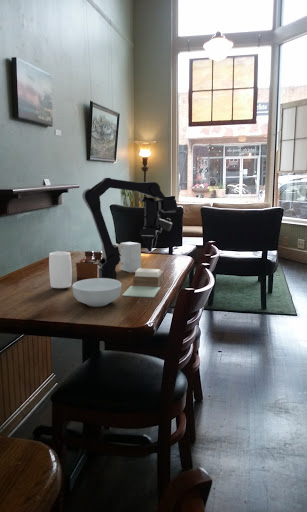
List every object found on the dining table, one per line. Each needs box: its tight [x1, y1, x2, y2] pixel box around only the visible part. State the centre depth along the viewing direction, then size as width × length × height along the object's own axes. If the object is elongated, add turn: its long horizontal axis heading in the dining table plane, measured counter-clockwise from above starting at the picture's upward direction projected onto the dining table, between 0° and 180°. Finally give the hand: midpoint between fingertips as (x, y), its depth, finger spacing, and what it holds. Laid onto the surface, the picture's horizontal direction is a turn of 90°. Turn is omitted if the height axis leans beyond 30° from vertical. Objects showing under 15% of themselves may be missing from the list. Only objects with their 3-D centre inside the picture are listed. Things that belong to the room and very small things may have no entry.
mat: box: [121, 285, 162, 298], centre depth 162 cm, size 14×12×1 cm
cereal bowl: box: [71, 277, 122, 308], centre depth 147 cm, size 17×17×7 cm
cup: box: [48, 250, 73, 289], centre depth 166 cm, size 8×8×14 cm
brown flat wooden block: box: [133, 269, 165, 287], centre depth 175 cm, size 14×10×4 cm
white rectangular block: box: [134, 267, 161, 277], centre depth 172 cm, size 6×9×2 cm, turn 79°
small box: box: [119, 241, 142, 273], centre depth 198 cm, size 8×6×13 cm
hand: (151, 249), depth 178 cm, fingers open, 9 cm apart
